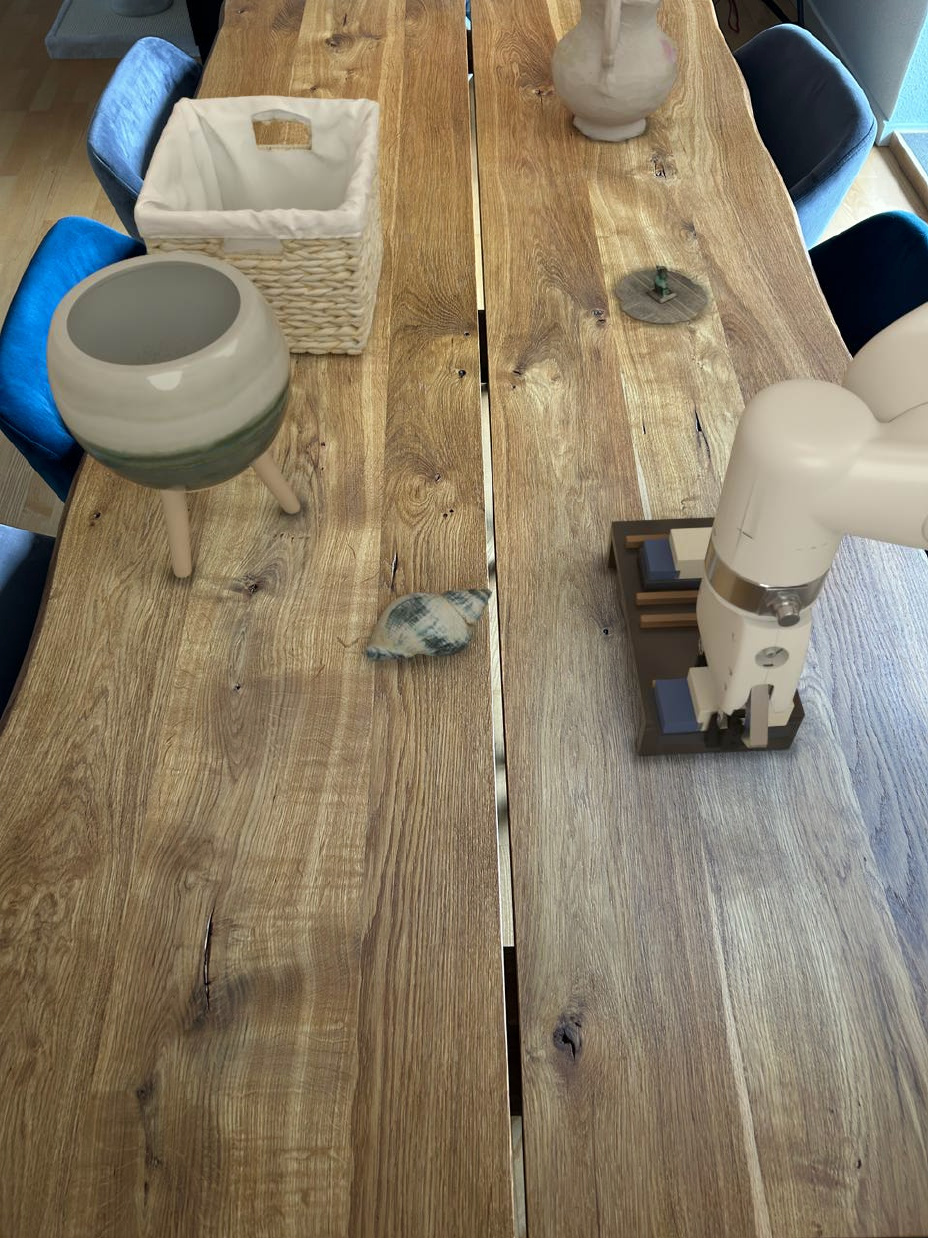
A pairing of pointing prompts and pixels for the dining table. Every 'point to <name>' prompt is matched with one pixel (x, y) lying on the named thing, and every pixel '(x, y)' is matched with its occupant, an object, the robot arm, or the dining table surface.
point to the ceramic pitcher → (614, 68)
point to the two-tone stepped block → (674, 559)
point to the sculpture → (660, 296)
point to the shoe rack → (666, 630)
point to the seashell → (427, 624)
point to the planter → (173, 379)
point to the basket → (277, 208)
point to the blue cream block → (695, 709)
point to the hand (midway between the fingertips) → (717, 713)
